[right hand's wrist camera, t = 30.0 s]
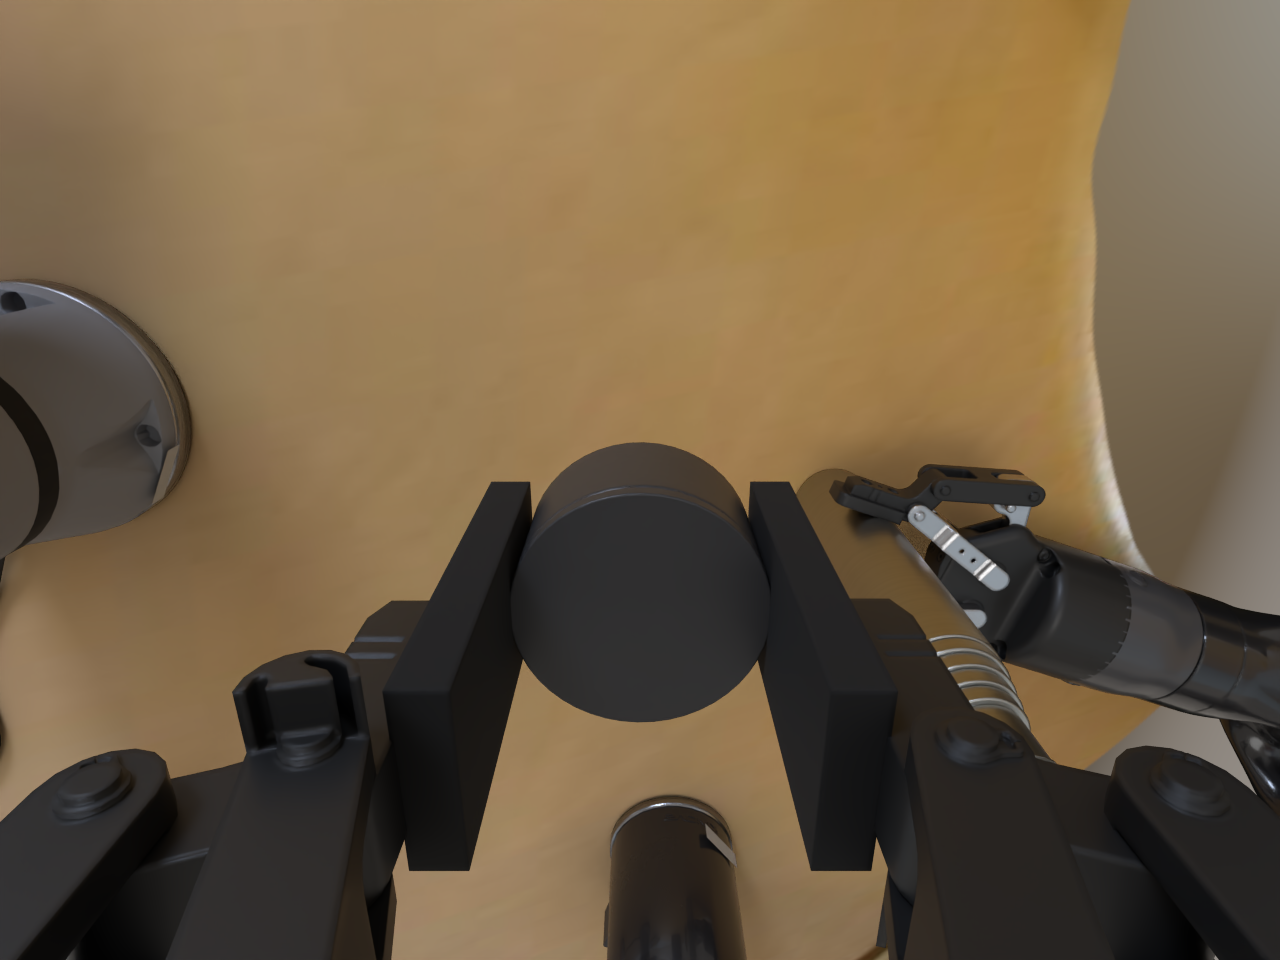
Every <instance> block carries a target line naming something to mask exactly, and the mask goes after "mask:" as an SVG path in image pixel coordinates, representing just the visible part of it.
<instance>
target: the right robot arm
mask: <svg viewBox="0 0 1280 960" xmlns="http://www.w3.org/2000/svg"><path fill="white" fill-rule="evenodd" d="M190 439H191V429H190V418H189V412H188V408H187V403H186V400H185V397H184V394H183V391H182V388H181V386H180V384H179V381H178V379H177V377H176V375H175V373H174V372H173V370H172V368H171V366H170V365H169V363H168V361H167V360H166V358H165V357H164V355H163V354H162V353H161V351H160V350H159V349H158V348H157V346H156V345H155V344H154V343H153V341H152V340H151V339H150V338H149V337H148V336H147V335H146V334H145V333H144V332H143V331H142V330H141V329H140V328H139V327H138V326H137V325H136V324H135V323H134V322H132V321H131V320H130V319H129V318H127V317H126V316H125V315H124V314H122V313H121V312H119V311H118V310H116V309H115V308H114V307H112V306H111V305H109V304H107V303H105V302H104V301H102V300H100V299H99V298H96V297H94V296H92V295H90V294H88V293H86V292H84V291H81V290H78V289H76V288H73V287H70V286H66V285H63V284H59V283H55V282H50V281H44V280H34V279H15V280H6V281H0V581H1V576H2V571H3V565H4V560H5V556H7V555H8V554H10V553H12V552H14V551H15V550H17V549H19V548H21V547H23V546H24V545H28V544H34V543H40V542H45V541H51V540H57V539H63V538H68V537H74V536H80V535H86V534H92V533H97V532H101V531H104V530H107V529H110V528H113V527H117V526H120V525H122V524H124V523H127V522H129V521H131V520H133V519H134V518H136V517H138V516H140V515H141V514H143V513H144V512H146V511H147V510H149V509H150V508H152V507H153V506H155V505H156V504H158V503H159V502H160V501H161V500H162V499H164V498H165V497H166V496H167V495H168V494H169V492H170V491H171V490H172V489H173V488H174V486H175V485H176V483H177V482H178V480H179V479H180V477H181V475H182V472H183V470H184V468H185V465H186V462H187V459H188V454H189V449H190ZM748 520H749V523H750V526H751V529H752V532H753V535H754V538H755V541H756V544H757V547H758V550H759V553H760V556H761V559H762V562H763V565H764V567H765V570H766V574H767V577H768V581H769V584H770V588H771V595H770V610H769V624H768V636H767V640H766V643H765V646H764V648H763V650H762V652H761V654H760V656H759V658H758V663H759V667H760V671H761V675H762V679H763V683H764V687H765V691H766V695H767V698H768V702H769V706H770V710H771V714H772V718H773V722H774V726H775V730H776V734H777V738H778V742H779V746H780V750H781V754H782V758H783V762H784V766H785V770H786V773H787V777H788V781H789V785H790V789H791V793H792V797H793V801H794V805H795V809H796V813H797V817H798V821H799V825H800V829H801V833H802V837H803V841H804V845H805V848H806V852H807V856H808V860H809V864H810V868H811V871H871V869H872V862H873V856H874V849H875V843H876V837H877V840H878V842H879V845H880V848H881V851H882V853H883V856H884V859H885V861H886V864H887V867H888V874H887V880H886V886H885V892H884V898H883V905H882V911H881V917H880V923H879V929H878V936H877V943H876V946H879V947H884V948H886V943H887V944H888V954H889V960H1215V959H1214V957H1215V955H1216V957H1217V958H1218V959H1219V960H1280V817H1279V816H1278V815H1277V814H1276V813H1275V812H1274V811H1273V810H1272V809H1271V808H1270V807H1269V806H1268V805H1267V804H1265V803H1264V802H1263V801H1262V800H1261V799H1260V798H1259V797H1258V796H1257V795H1256V794H1255V793H1254V792H1253V791H1252V790H1251V789H1249V788H1248V787H1247V786H1246V785H1244V784H1243V783H1242V782H1240V781H1239V780H1238V779H1236V778H1235V777H1234V776H1232V775H1231V774H1230V773H1228V772H1227V771H1225V770H1223V769H1221V768H1220V767H1218V766H1216V765H1214V764H1212V763H1210V762H1208V761H1206V760H1204V759H1202V758H1200V757H1197V756H1194V755H1191V754H1189V753H1184V752H1182V751H1177V750H1174V749H1171V748H1163V747H1154V746H1141V747H1136V748H1130V749H1126V750H1125V751H1124V752H1123V753H1122V754H1121V755H1119V756H1118V757H1117V758H1116V760H1115V764H1114V767H1113V771H1112V774H1111V776H1108V775H1103V774H1099V773H1094V772H1090V771H1085V770H1081V769H1076V768H1072V767H1067V766H1062V765H1058V764H1055V763H1051V762H1048V761H1044V760H1041V759H1038V758H1036V757H1035V755H1034V752H1033V751H1032V749H1031V748H1030V746H1029V745H1028V743H1027V742H1026V740H1025V739H1024V737H1023V736H1022V735H1020V734H1019V733H1018V732H1016V731H1015V730H1014V729H1013V728H1011V727H1010V726H1009V725H1008V724H1006V723H1005V722H1003V721H1001V720H998V719H996V718H994V717H992V716H990V715H988V714H986V713H983V712H979V711H975V710H974V708H973V706H972V705H971V703H970V702H969V700H968V699H967V697H966V696H965V694H964V693H963V691H962V690H961V688H960V687H959V685H958V683H957V682H956V680H955V679H954V677H953V676H952V674H951V673H950V671H949V670H948V668H947V667H946V665H945V664H944V662H943V661H942V659H941V657H940V656H937V651H936V650H935V648H934V647H933V645H932V644H931V642H930V641H929V640H927V639H926V634H925V633H924V631H923V630H922V628H921V627H920V625H919V624H918V622H917V621H916V619H915V618H914V616H913V615H912V614H910V613H909V612H907V611H906V610H905V609H903V608H902V607H900V606H899V605H898V604H896V603H895V602H893V601H892V600H891V599H886V598H849V596H848V594H847V592H846V590H845V588H844V586H843V584H842V582H841V580H840V578H839V577H838V575H837V573H836V571H835V569H834V567H833V565H832V563H831V561H830V559H829V557H828V555H827V554H826V552H825V550H824V548H823V546H822V544H821V542H820V540H819V538H818V536H817V534H816V533H815V531H814V529H813V527H812V525H811V523H810V521H809V519H808V517H807V515H806V513H805V511H804V510H803V508H802V506H801V504H800V502H799V500H798V498H797V496H796V494H795V492H794V490H793V488H792V487H791V485H790V483H789V482H750V497H749V514H748ZM531 523H532V506H531V489H530V482H491V484H490V486H489V487H488V489H487V491H486V493H485V495H484V497H483V499H482V501H481V503H480V505H479V507H478V509H477V510H476V512H475V514H474V516H473V518H472V520H471V522H470V524H469V526H468V528H467V530H466V532H465V533H464V535H463V537H462V539H461V541H460V543H459V545H458V547H457V549H456V551H455V553H454V554H453V556H452V558H451V560H450V562H449V564H448V566H447V568H446V570H445V572H444V574H443V576H442V577H441V579H440V581H439V583H438V585H437V587H436V589H435V591H434V593H433V595H432V597H431V599H430V600H429V601H391V602H389V603H388V604H386V605H385V606H384V607H382V608H381V609H379V610H378V611H377V612H375V613H374V614H372V615H371V616H370V617H368V618H367V620H366V621H365V623H364V624H363V626H362V627H361V629H360V630H359V632H358V634H357V635H356V637H355V641H354V642H352V643H351V644H350V646H349V647H348V649H347V651H346V652H345V654H344V653H340V652H336V651H332V650H308V651H303V652H299V653H294V654H289V655H285V656H282V657H280V658H278V659H275V660H273V661H270V662H268V663H265V664H263V665H261V666H260V667H258V668H257V669H255V670H254V671H252V672H251V673H250V674H248V675H247V676H245V677H244V678H243V679H242V680H241V682H240V683H239V684H238V685H237V687H236V688H235V689H234V690H233V692H232V693H233V697H234V701H235V706H236V710H237V714H238V718H239V722H240V727H241V731H242V735H243V739H244V743H245V748H246V752H247V753H246V756H245V759H244V761H243V762H240V763H237V764H233V765H230V766H226V767H223V768H218V769H214V770H209V771H205V772H200V773H196V774H191V775H186V776H182V777H177V778H173V779H170V775H169V772H168V768H167V765H166V762H165V761H164V760H163V759H162V758H161V757H160V756H159V755H157V754H156V753H155V752H151V751H146V750H140V749H128V750H119V751H110V752H107V753H104V754H100V755H98V756H93V757H91V758H88V759H85V760H82V761H80V762H78V763H76V764H74V765H72V766H70V767H68V768H66V769H64V770H62V771H60V772H58V773H57V774H55V775H54V776H52V777H51V778H50V779H48V780H47V781H46V782H44V783H43V784H42V785H40V786H39V787H38V788H36V789H35V790H34V791H33V792H31V793H30V794H29V795H28V796H27V797H26V798H25V799H24V800H23V801H22V802H21V803H20V804H19V805H18V806H17V807H16V808H15V809H14V810H13V811H11V812H10V813H9V814H8V815H7V816H6V817H5V818H4V819H3V820H2V821H1V822H0V960H66V959H67V960H391V956H392V945H393V935H394V925H395V914H396V904H397V900H396V893H395V886H394V880H393V874H392V872H393V869H394V866H395V864H396V861H397V858H398V855H399V853H400V850H401V847H402V845H403V842H404V839H405V846H406V853H407V859H408V866H409V871H469V870H470V866H471V862H472V858H473V854H474V850H475V846H476V842H477V838H478V834H479V831H480V827H481V823H482V819H483V815H484V811H485V807H486V803H487V799H488V795H489V791H490V787H491V783H492V779H493V775H494V771H495V767H496V763H497V759H498V756H499V752H500V748H501V744H502V740H503V736H504V732H505V728H506V724H507V720H508V716H509V712H510V708H511V704H512V700H513V696H514V692H515V688H516V684H517V681H518V677H519V673H520V669H521V665H522V661H523V658H522V656H521V654H520V652H519V650H518V648H517V645H516V643H515V641H514V637H513V630H512V617H511V603H510V590H511V585H512V580H513V577H514V574H515V571H516V568H517V565H518V562H519V559H520V556H521V553H522V550H523V547H524V544H525V541H526V538H527V535H528V532H529V529H530V526H531ZM0 745H1V736H0Z"/></svg>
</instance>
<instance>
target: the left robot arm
mask: <svg viewBox="0 0 1280 960" xmlns="http://www.w3.org/2000/svg"><path fill="white" fill-rule="evenodd" d="M829 493H830V495H831V496H832V498H833V499H834V501H835V502H836V503H838V504H839V505H841V506H844V507H847V508H850V509H853V510H856V511H859V512H862V513H865V514H868V515H871V516H874V517H877V518H881V519H884V520H887V521H889V522H892V523H895V524H898V525H900V523H901V521H902V520H903V521H906V522H909V523H911V524H912V525H913V526H914V527H915V528H917V529H918V530H919V531H920V532H922V533H923V534H924V535H925V536H927V537H928V538H929V539H931V540H932V541H931V543H930V545H929V546H928V548H927V552H926V556H925V560H924V561H925V562H926V563H927V565H928V566H929V567H930V568H931V570H932V571H933V572H934V574H935V575H936V576H937V577H938V579H939V580H940V581H941V582H942V584H943V585H944V586H945V587H946V589H947V590H948V591H949V593H950V594H951V595H952V596H953V598H954V599H955V600H956V601H957V603H958V604H959V605H960V607H961V608H962V609H963V610H964V612H965V613H966V614H967V615H968V617H969V618H970V619H971V620H972V622H973V623H974V624H975V626H976V627H977V628H978V629H979V631H980V632H981V633H982V634H983V636H984V637H985V638H986V639H987V641H988V642H989V643H990V645H991V646H992V647H993V648H994V650H995V651H996V652H997V654H998V655H999V657H1000V658H1001V661H1003V662H1006V663H1009V664H1013V665H1016V666H1019V667H1022V668H1026V669H1029V670H1032V671H1035V672H1039V673H1042V674H1045V675H1048V676H1052V677H1055V678H1058V679H1061V680H1063V681H1065V682H1067V683H1069V684H1072V685H1078V686H1080V685H1081V686H1084V687H1088V688H1091V689H1094V690H1098V691H1102V692H1105V693H1110V694H1116V695H1124V696H1130V697H1134V698H1138V699H1141V700H1144V701H1148V702H1151V703H1154V704H1157V705H1161V706H1164V707H1167V708H1171V709H1174V710H1177V711H1180V712H1184V713H1188V714H1192V715H1197V716H1203V717H1209V718H1217V719H1219V720H1220V722H1221V724H1222V727H1223V729H1224V731H1225V733H1226V735H1227V737H1228V739H1229V741H1230V743H1231V745H1232V747H1233V749H1234V751H1235V753H1236V755H1237V757H1238V759H1239V761H1240V762H1241V764H1242V766H1243V768H1244V770H1245V772H1246V774H1247V776H1248V778H1249V780H1250V782H1251V784H1252V786H1253V788H1254V790H1255V792H1256V794H1257V796H1258V797H1259V798H1260V799H1261V800H1262V801H1263V802H1264V803H1265V804H1267V805H1268V806H1269V807H1270V808H1271V809H1272V810H1273V811H1274V812H1275V813H1276V814H1277V815H1278V816H1279V817H1280V616H1279V615H1272V614H1266V613H1260V612H1255V611H1250V610H1245V609H1240V608H1236V607H1233V606H1231V605H1228V604H1226V603H1224V602H1221V601H1218V600H1215V599H1212V598H1210V597H1206V596H1203V595H1200V594H1197V593H1194V592H1191V591H1188V590H1185V589H1182V588H1179V587H1176V586H1173V585H1171V584H1168V583H1166V582H1164V581H1162V580H1160V579H1158V578H1157V577H1155V576H1152V575H1150V574H1148V573H1146V572H1144V571H1141V570H1139V569H1136V568H1133V567H1130V566H1127V565H1124V564H1121V563H1118V562H1115V561H1112V560H1109V559H1106V558H1103V557H1100V556H1097V555H1094V554H1091V553H1088V552H1085V551H1082V550H1079V549H1076V548H1073V547H1070V546H1067V545H1064V544H1061V543H1058V542H1055V541H1052V540H1049V539H1046V538H1043V537H1040V536H1037V535H1034V534H1033V533H1032V532H1031V531H1030V530H1029V529H1028V528H1026V524H1027V520H1028V517H1029V513H1030V510H1031V507H1035V506H1038V505H1039V504H1041V503H1042V502H1043V500H1044V498H1045V491H1044V489H1043V488H1042V487H1040V486H1039V485H1037V484H1036V483H1035V482H1034V481H1032V480H1031V479H1030V478H1028V477H1027V476H1025V475H1024V474H1022V473H1021V472H1019V471H1017V470H1005V469H991V468H977V467H963V466H948V465H934V464H928V465H925V466H923V467H922V468H921V469H920V470H919V472H918V479H917V480H916V481H915V482H914V483H913V484H912V485H910V486H909V487H907V488H904V489H896V488H893V487H890V486H887V485H884V484H881V483H878V482H875V481H872V480H869V479H866V478H863V477H860V476H847V478H846V480H845V482H842V481H838V480H834V481H833V484H832V486H831V488H830V490H829ZM942 501H952V502H966V503H981V504H989V505H990V506H991V507H992V508H993V509H995V510H996V511H997V512H998V513H1001V514H1002V517H1001V518H997V519H993V520H989V521H985V522H982V523H978V524H974V525H970V526H967V527H963V528H958V527H956V526H955V525H954V524H953V523H952V522H950V521H949V520H948V519H947V518H945V517H944V516H943V515H942V514H940V513H939V512H938V511H937V510H935V509H934V508H935V507H937V506H938V505H939V504H940V503H941V502H942ZM610 856H611V877H610V897H609V904H608V906H607V908H606V910H605V922H604V944H603V945H604V947H608V948H607V960H747V957H746V950H745V943H744V936H743V929H742V922H741V915H740V908H739V901H738V894H737V887H736V878H735V871H734V865H735V866H736V867H737V863H736V857H735V854H734V853H733V852H732V841H731V835H730V831H729V828H728V826H727V824H726V822H725V821H724V819H723V818H722V817H721V816H720V815H719V814H718V813H717V812H716V811H715V810H713V809H712V808H710V807H709V806H707V805H705V804H703V803H701V802H699V801H696V800H692V799H688V798H682V797H661V798H655V799H651V800H648V801H645V802H643V803H640V804H638V805H636V806H635V807H633V808H631V809H630V810H629V811H627V812H626V813H625V814H624V815H623V816H622V817H621V818H620V819H619V820H618V822H617V823H616V825H615V827H614V829H613V832H612V835H611V844H610Z"/></svg>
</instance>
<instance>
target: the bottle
mask: <svg viewBox="0 0 1280 960" xmlns="http://www.w3.org/2000/svg"><path fill="white" fill-rule="evenodd" d="M847 476H856V475H854V474H853V473H851V472H848V471H845V470H841V469H829V470H824V471H821V472H818V473H816V474H814V475H813V476H811V477H810V478H808V479H807V480H806V481H805V482H804V483H803V485H802V486H801V487H800V489H799V491H798V493H797V495H796V496H797V498H798V500H799V502H800V504H801V506H802V508H803V510H804V511H805V513H806V515H807V517H808V519H809V521H810V523H811V525H812V527H813V529H814V531H815V533H816V534H817V536H818V538H819V540H820V542H821V544H822V546H823V548H824V550H825V552H826V554H827V555H828V557H829V559H830V561H831V563H832V565H833V567H834V569H835V571H836V573H837V575H838V577H839V578H840V580H841V582H842V584H843V586H844V588H845V590H846V592H847V594H848V596H849V598H886V599H891V600H892V601H893V602H895V603H896V604H898V605H899V606H900V607H902V608H903V609H905V610H906V611H907V612H909V613H910V614H912V615H913V616H914V618H915V619H916V621H917V622H918V624H919V625H920V627H921V628H922V630H923V631H924V633H925V634H926V639H927V640H929V641H930V642H931V644H932V645H933V647H934V648H935V650H936V651H937V656H940V657H941V659H942V661H943V662H944V664H945V665H946V667H947V668H948V670H949V671H950V673H951V674H952V676H953V677H954V679H955V680H956V682H957V683H958V685H959V687H960V688H961V690H962V691H963V693H964V694H965V696H966V697H967V699H968V700H969V702H970V703H971V705H972V706H973V708H974V710H975V711H979V712H983V713H986V714H988V715H990V716H992V717H994V718H996V719H998V720H1001V721H1003V722H1005V723H1006V724H1008V725H1009V726H1010V727H1011V728H1013V729H1014V730H1015V731H1016V732H1018V733H1019V734H1020V735H1022V736H1023V737H1024V739H1025V740H1026V742H1027V743H1028V745H1029V746H1030V748H1031V749H1032V751H1033V752H1034V755H1035V757H1036V758H1038V759H1041V760H1044V761H1048V762H1051V763H1055V762H1054V761H1053V760H1051V759H1050V757H1049V756H1048V755H1047V753H1046V752H1045V751H1044V749H1043V748H1042V746H1041V745H1040V744H1039V742H1038V741H1037V740H1036V738H1035V737H1034V736H1033V734H1032V733H1031V728H1030V723H1029V720H1028V717H1027V716H1026V714H1025V712H1024V709H1023V705H1022V703H1021V701H1020V699H1019V697H1018V696H1017V691H1016V689H1015V686H1014V685H1013V683H1012V681H1011V678H1010V675H1009V672H1008V670H1007V669H1006V667H1005V666H1004V664H1003V663H1002V661H1001V658H1000V657H999V655H998V654H997V652H996V651H995V650H994V648H993V647H992V646H991V645H990V643H989V642H988V641H987V639H986V638H985V637H984V636H983V634H982V633H981V632H980V631H979V629H978V628H977V627H976V626H975V624H974V623H973V622H972V620H971V619H970V618H969V617H968V615H967V614H966V613H965V612H964V610H963V609H962V608H961V607H960V605H959V604H958V603H957V601H956V600H955V599H954V598H953V596H952V595H951V594H950V593H949V591H948V590H947V589H946V587H945V586H944V585H943V584H942V582H941V581H940V580H939V579H938V577H937V576H936V575H935V574H934V572H933V571H932V570H931V568H930V567H929V566H928V565H927V563H926V562H925V561H924V560H923V558H922V557H921V556H920V554H919V553H918V552H917V551H916V549H915V548H914V547H913V546H912V544H911V543H910V542H909V541H908V539H907V538H906V537H905V535H904V534H903V533H902V532H901V530H900V529H899V528H898V527H897V525H896V524H895V523H892V522H889V521H887V520H884V519H881V518H877V517H874V516H871V515H868V514H865V513H862V512H859V511H856V510H853V509H850V508H847V507H844V506H841V505H839V504H838V503H836V502H835V501H834V499H833V498H832V496H831V495H830V493H829V490H830V488H831V486H832V484H833V481H834V480H838V481H842V482H845V480H846V478H847ZM1055 764H1056V763H1055Z"/></svg>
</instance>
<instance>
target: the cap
mask: <svg viewBox="0 0 1280 960" xmlns="http://www.w3.org/2000/svg"><path fill="white" fill-rule="evenodd" d="M770 595H771V588H770V584H769V581H768V577H767V574H766V570H765V567H764V565H763V562H762V559H761V556H760V553H759V550H758V547H757V544H756V541H755V538H754V535H753V532H752V529H751V526H750V523H749V520H748V517H747V514H746V511H745V509H744V506H743V504H742V502H741V500H740V498H739V496H738V495H737V493H736V492H735V490H734V488H733V487H732V486H731V484H730V483H729V482H728V481H727V480H726V479H725V477H724V476H723V475H722V474H720V473H719V472H718V471H717V470H716V469H715V468H714V467H713V466H711V465H710V464H708V463H707V462H705V461H704V460H702V459H701V458H699V457H697V456H695V455H693V454H691V453H689V452H687V451H684V450H681V449H678V448H675V447H672V446H667V445H662V444H656V443H645V442H641V443H625V444H619V445H613V446H610V447H606V448H603V449H600V450H597V451H595V452H592V453H590V454H588V455H586V456H584V457H582V458H581V459H579V460H577V461H576V462H574V463H573V464H571V465H570V466H569V467H568V468H566V469H565V470H564V471H563V472H561V473H560V474H559V476H558V477H557V478H556V479H555V480H554V481H553V482H552V483H551V484H550V486H549V487H548V489H547V490H546V491H545V493H544V494H543V496H542V498H541V500H540V502H539V504H538V506H537V509H536V512H535V515H534V517H533V520H532V523H531V526H530V529H529V532H528V535H527V538H526V541H525V544H524V547H523V550H522V553H521V556H520V559H519V562H518V565H517V568H516V571H515V574H514V577H513V580H512V585H511V590H510V603H511V617H512V630H513V637H514V641H515V643H516V645H517V648H518V650H519V652H520V654H521V656H522V658H523V659H524V661H525V663H526V664H527V666H528V668H529V669H530V670H531V671H532V673H533V674H534V675H535V676H536V678H537V679H538V680H539V681H540V682H541V683H542V684H543V685H544V686H545V687H546V688H548V689H549V690H550V691H551V692H552V693H554V694H555V695H556V696H558V697H559V698H560V699H562V700H564V701H565V702H567V703H569V704H571V705H572V706H574V707H576V708H578V709H581V710H583V711H585V712H588V713H590V714H593V715H597V716H600V717H603V718H607V719H613V720H618V721H627V722H655V721H662V720H669V719H673V718H677V717H681V716H685V715H688V714H690V713H693V712H696V711H698V710H701V709H703V708H705V707H707V706H709V705H711V704H713V703H714V702H716V701H717V700H719V699H720V698H722V697H723V696H725V695H726V694H728V693H729V692H730V691H731V690H732V689H733V688H735V687H736V686H737V685H738V684H739V683H740V682H741V681H742V680H743V679H744V678H745V676H746V675H747V674H748V673H749V672H750V670H751V669H752V667H753V666H754V664H755V663H756V662H757V660H758V658H759V656H760V654H761V652H762V650H763V648H764V646H765V643H766V640H767V636H768V624H769V610H770Z"/></svg>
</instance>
